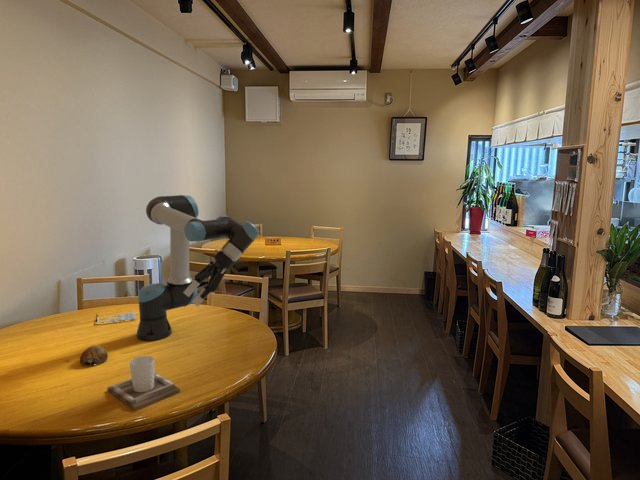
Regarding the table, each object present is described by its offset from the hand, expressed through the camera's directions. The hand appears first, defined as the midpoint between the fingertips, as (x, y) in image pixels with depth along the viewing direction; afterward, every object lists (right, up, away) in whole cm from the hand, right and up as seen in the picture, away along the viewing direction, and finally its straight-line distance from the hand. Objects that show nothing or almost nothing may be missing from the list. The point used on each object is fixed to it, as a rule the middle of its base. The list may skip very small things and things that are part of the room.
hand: (190, 299), depth 165 cm
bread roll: (-42, -27, +12) cm, 52 cm away
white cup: (-13, -29, -12) cm, 34 cm away
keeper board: (-13, -30, -12) cm, 35 cm away
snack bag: (-58, -19, +66) cm, 90 cm away
